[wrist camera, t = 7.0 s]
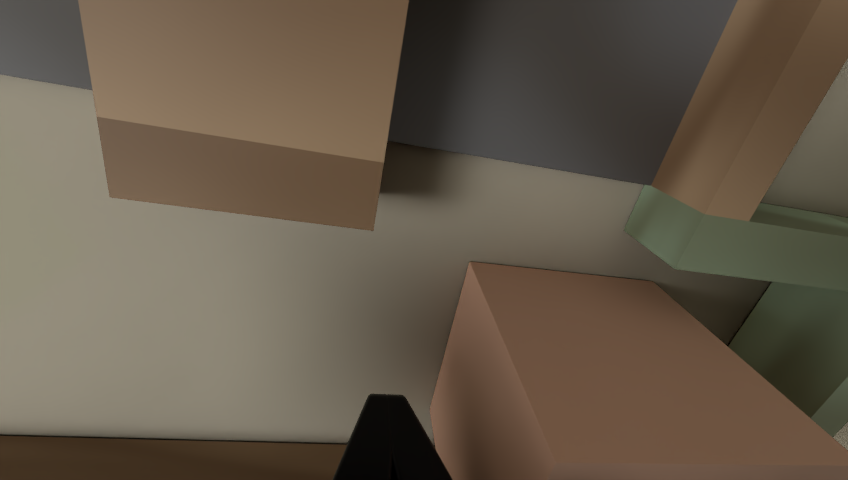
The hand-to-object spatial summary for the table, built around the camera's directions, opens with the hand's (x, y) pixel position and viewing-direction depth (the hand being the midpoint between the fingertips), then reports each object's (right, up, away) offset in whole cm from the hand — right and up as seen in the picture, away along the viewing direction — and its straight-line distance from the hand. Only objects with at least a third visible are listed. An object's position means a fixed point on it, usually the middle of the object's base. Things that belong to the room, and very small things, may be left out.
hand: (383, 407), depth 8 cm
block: (+4, 0, +3) cm, 5 cm away
